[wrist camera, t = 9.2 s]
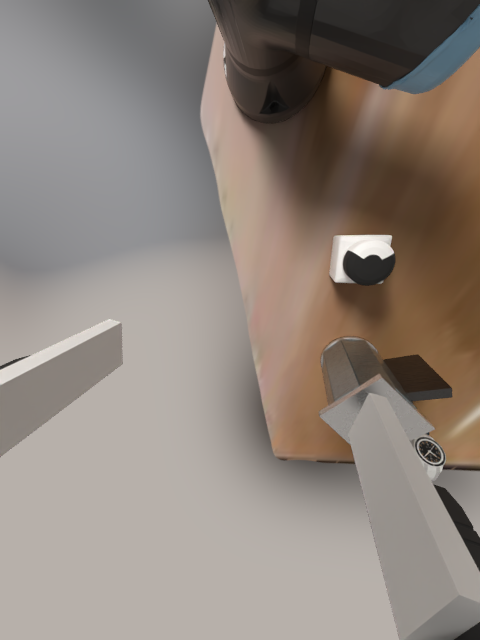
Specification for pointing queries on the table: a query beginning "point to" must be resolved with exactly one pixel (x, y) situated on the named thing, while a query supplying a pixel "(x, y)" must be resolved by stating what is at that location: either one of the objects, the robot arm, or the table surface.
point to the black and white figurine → (361, 259)
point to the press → (376, 385)
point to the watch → (429, 455)
